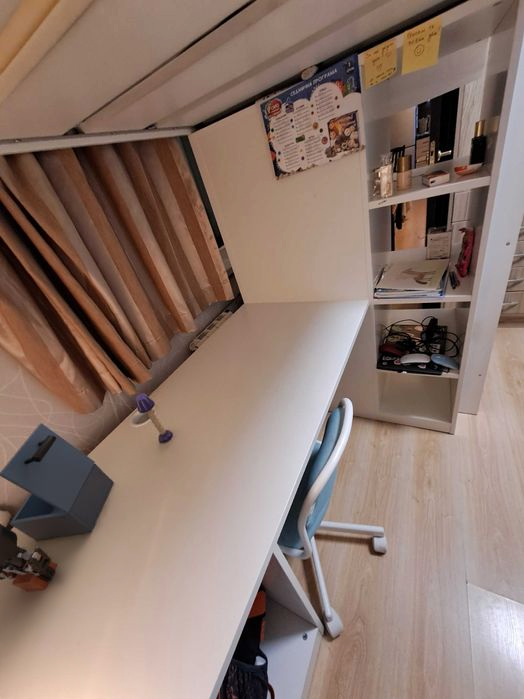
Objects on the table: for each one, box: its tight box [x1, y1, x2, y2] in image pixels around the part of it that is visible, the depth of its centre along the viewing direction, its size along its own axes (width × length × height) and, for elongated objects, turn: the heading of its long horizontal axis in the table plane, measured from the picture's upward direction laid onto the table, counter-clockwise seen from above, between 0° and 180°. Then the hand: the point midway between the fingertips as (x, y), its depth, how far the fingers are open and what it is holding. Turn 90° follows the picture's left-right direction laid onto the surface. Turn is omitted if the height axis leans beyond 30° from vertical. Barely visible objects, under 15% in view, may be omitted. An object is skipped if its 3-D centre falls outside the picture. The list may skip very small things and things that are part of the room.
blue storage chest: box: [9, 463, 115, 542], centre depth 72 cm, size 16×13×9 cm
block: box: [11, 560, 58, 593], centre depth 61 cm, size 4×4×4 cm
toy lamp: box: [134, 393, 173, 444], centre depth 83 cm, size 5×5×17 cm
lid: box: [0, 422, 96, 513], centre depth 64 cm, size 16×13×5 cm
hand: (41, 577), depth 62 cm, fingers closed on block, 4 cm apart
